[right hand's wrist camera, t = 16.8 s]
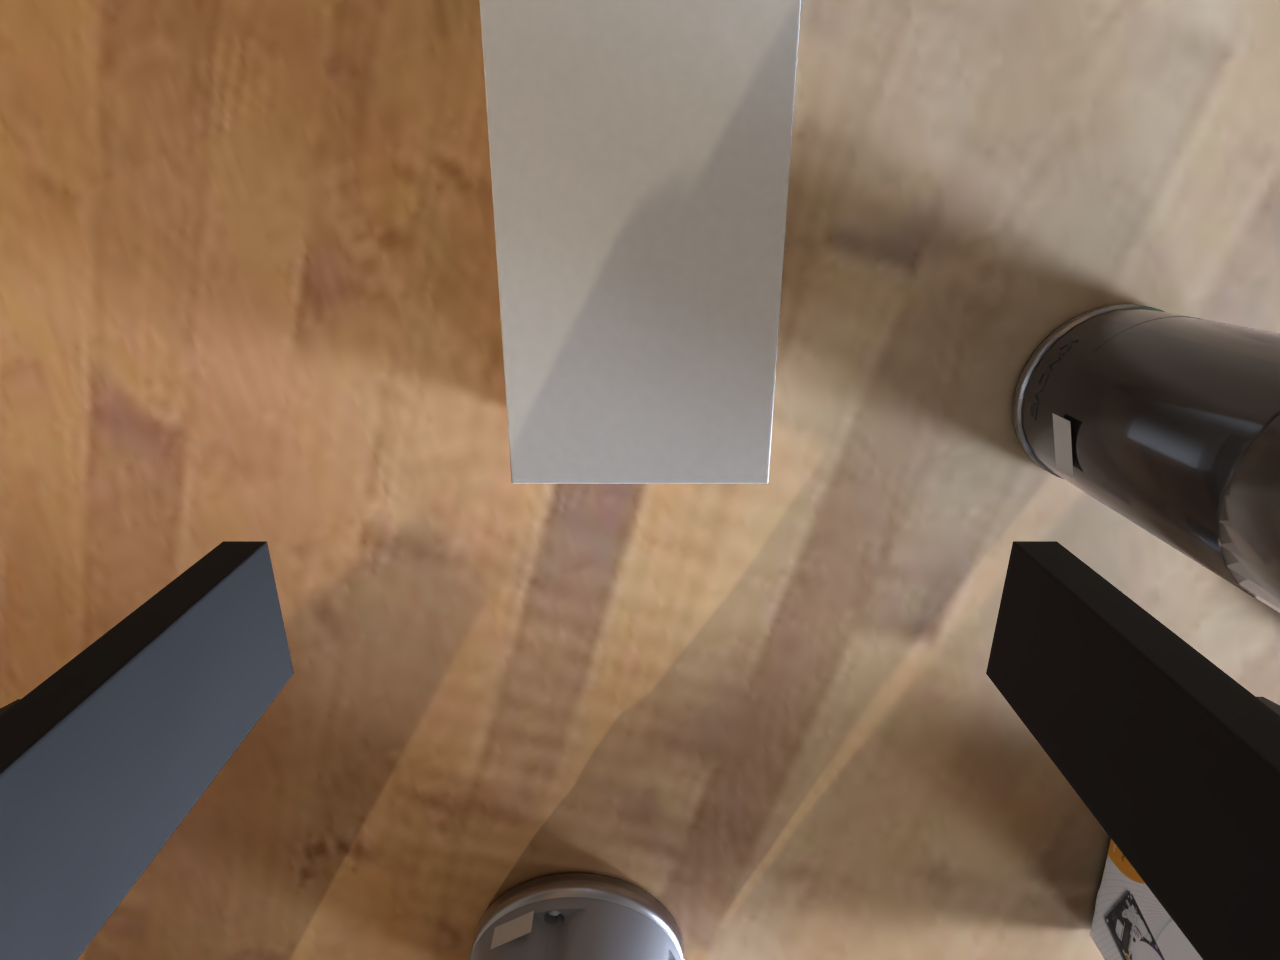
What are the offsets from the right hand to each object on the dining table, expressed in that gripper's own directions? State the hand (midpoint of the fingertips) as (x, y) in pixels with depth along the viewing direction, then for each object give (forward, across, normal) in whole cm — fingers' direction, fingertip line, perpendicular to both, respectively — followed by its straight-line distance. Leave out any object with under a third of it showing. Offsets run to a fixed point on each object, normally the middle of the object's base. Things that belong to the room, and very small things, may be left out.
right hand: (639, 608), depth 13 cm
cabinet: (+26, 0, -6) cm, 26 cm away
